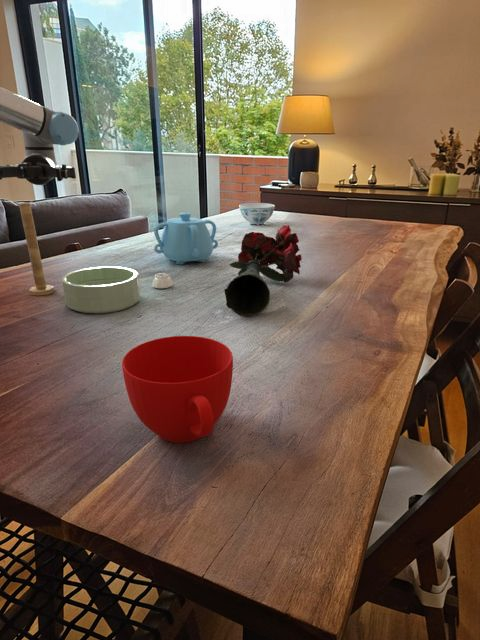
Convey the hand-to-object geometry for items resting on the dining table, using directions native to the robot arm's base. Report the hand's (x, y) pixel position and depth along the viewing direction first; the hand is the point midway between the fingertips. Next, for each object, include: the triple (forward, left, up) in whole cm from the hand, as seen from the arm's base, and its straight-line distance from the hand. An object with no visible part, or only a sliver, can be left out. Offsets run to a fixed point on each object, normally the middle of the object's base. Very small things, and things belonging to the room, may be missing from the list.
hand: (26, 175), depth 105 cm
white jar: (+23, +20, -25) cm, 39 cm away
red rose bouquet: (+42, +36, -25) cm, 61 cm away
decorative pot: (+4, +40, -25) cm, 47 cm away
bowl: (+25, +4, -25) cm, 36 cm away
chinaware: (-30, +98, -25) cm, 105 cm away
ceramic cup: (+79, -10, -25) cm, 83 cm away
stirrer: (+9, -4, -25) cm, 27 cm away
